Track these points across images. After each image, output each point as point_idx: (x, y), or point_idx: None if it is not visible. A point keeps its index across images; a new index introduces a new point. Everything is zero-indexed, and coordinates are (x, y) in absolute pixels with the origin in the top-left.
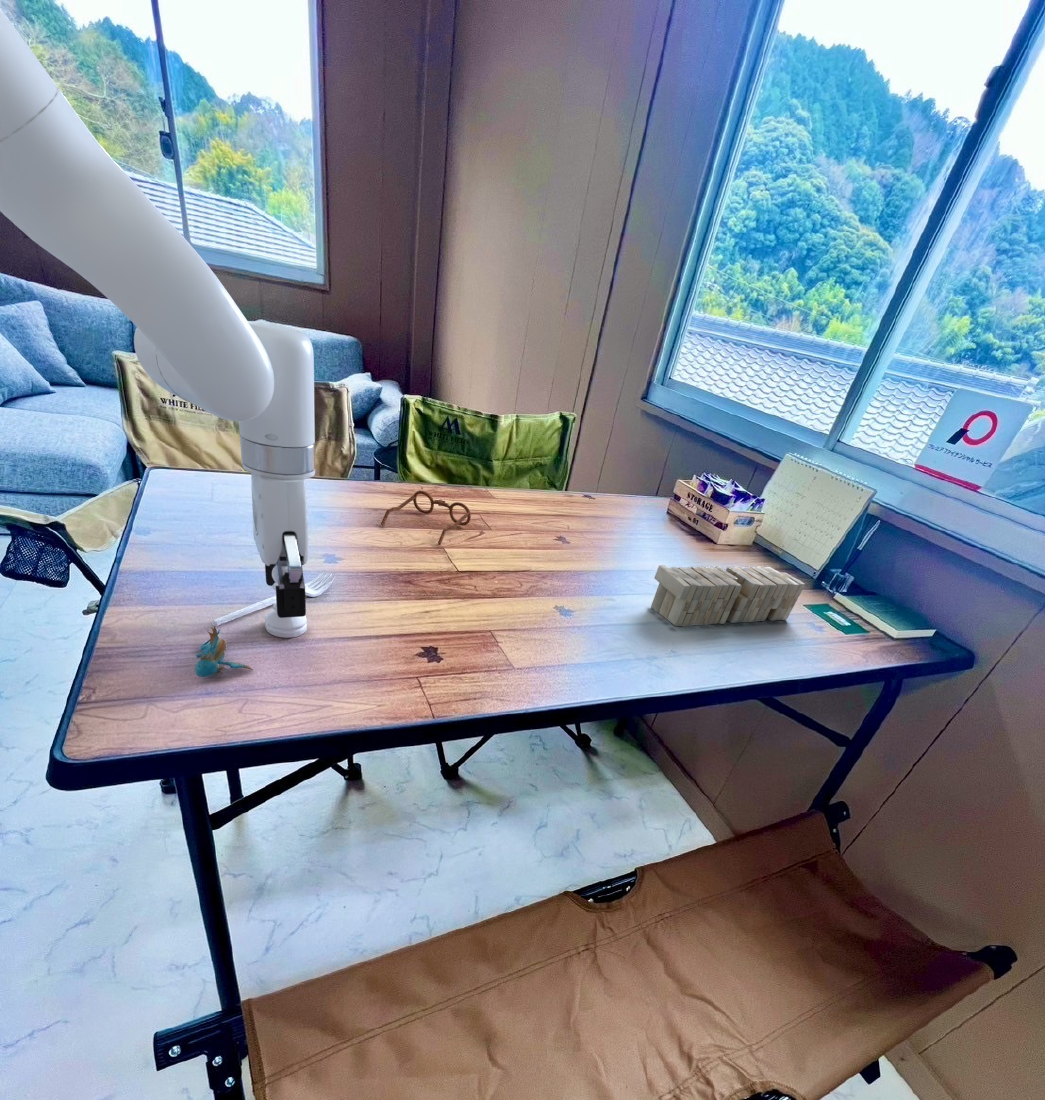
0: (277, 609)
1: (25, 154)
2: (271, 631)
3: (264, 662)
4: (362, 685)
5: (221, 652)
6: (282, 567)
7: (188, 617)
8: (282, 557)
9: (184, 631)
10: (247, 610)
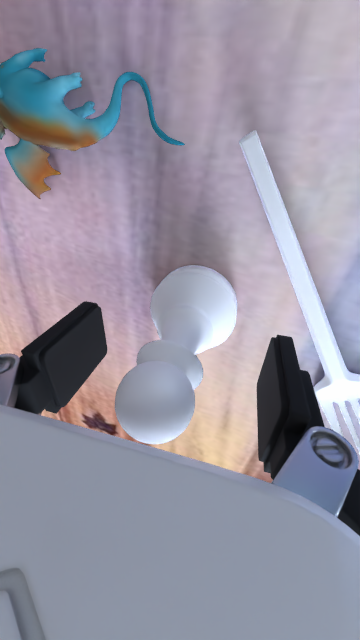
0: (73, 310)
1: None
2: (172, 272)
3: (79, 228)
4: (29, 337)
5: (7, 126)
6: (125, 421)
7: (356, 37)
8: (273, 450)
9: (254, 16)
10: (280, 246)
